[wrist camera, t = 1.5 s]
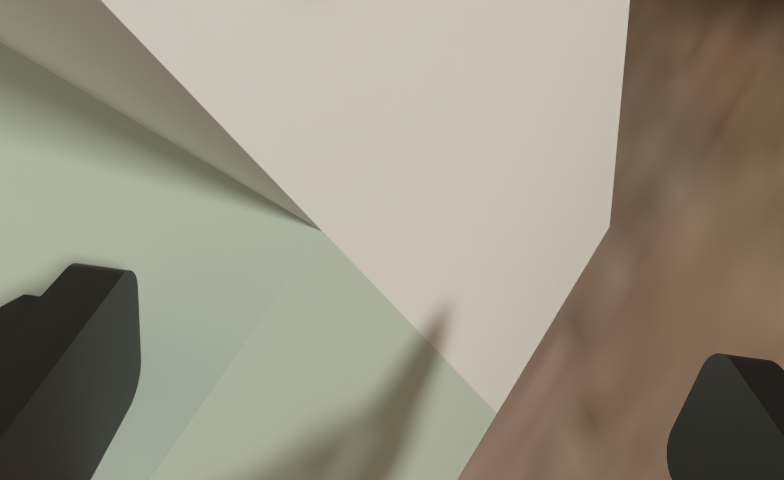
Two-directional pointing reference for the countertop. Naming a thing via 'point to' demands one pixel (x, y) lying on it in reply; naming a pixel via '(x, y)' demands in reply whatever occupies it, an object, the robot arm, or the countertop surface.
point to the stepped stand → (312, 212)
